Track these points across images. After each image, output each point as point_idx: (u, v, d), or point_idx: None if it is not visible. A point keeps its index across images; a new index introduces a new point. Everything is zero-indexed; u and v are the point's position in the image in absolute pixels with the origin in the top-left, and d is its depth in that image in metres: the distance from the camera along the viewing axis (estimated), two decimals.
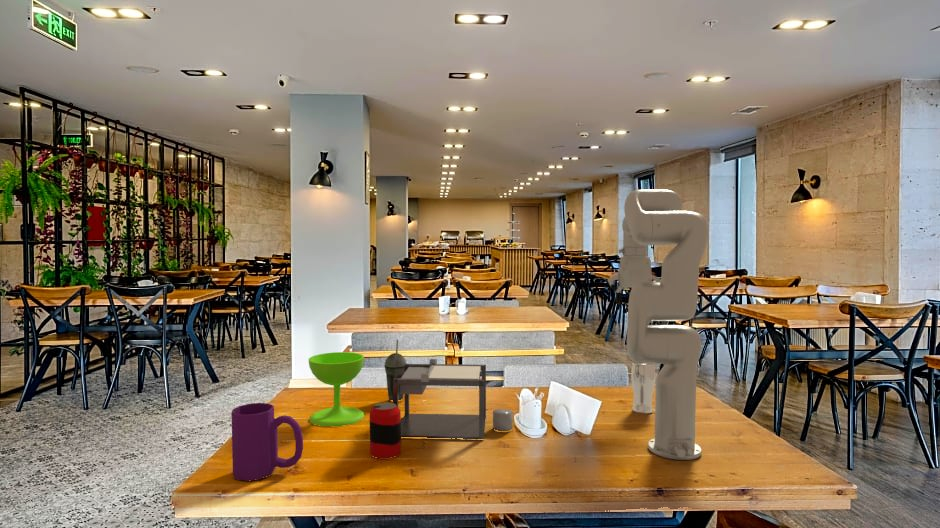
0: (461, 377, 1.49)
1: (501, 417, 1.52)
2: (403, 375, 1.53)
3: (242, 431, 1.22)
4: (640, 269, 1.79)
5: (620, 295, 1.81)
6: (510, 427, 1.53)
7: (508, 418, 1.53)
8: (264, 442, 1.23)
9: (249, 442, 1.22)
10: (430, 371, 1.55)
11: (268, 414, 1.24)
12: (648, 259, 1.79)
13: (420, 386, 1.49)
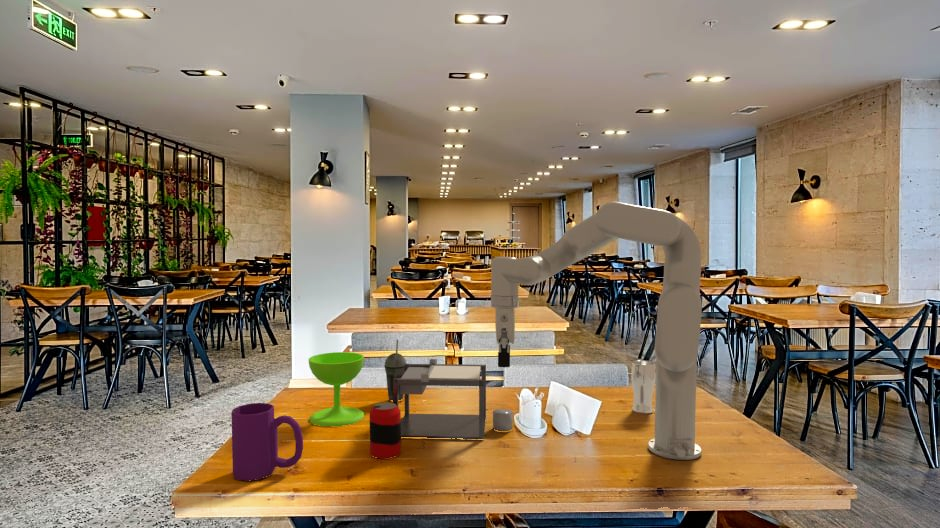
0: (461, 377, 1.49)
1: (501, 417, 1.52)
2: (403, 375, 1.53)
3: (242, 431, 1.22)
4: None
5: (509, 355, 1.49)
6: (510, 427, 1.53)
7: (508, 418, 1.53)
8: (264, 442, 1.23)
9: (249, 442, 1.22)
10: (430, 371, 1.55)
11: (268, 414, 1.24)
12: None
13: (420, 386, 1.49)
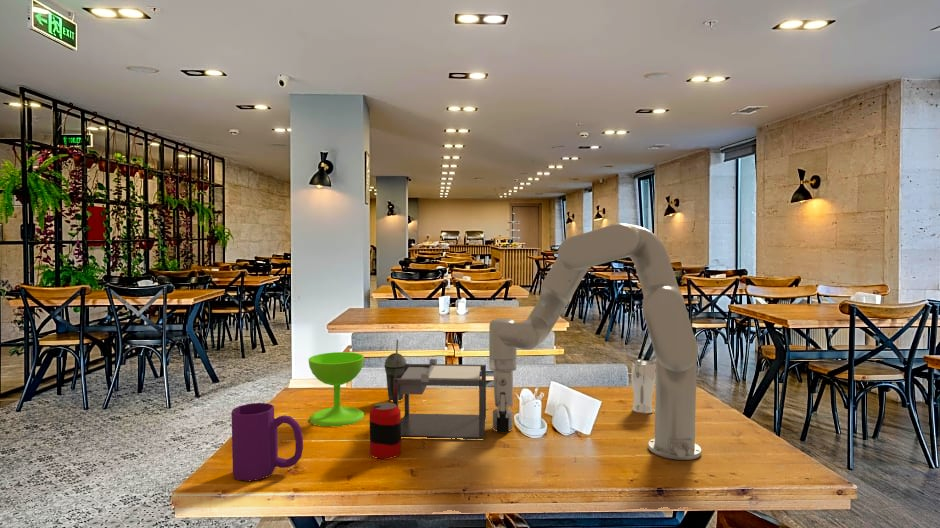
0: (461, 377, 1.49)
1: None
2: (403, 375, 1.53)
3: (242, 431, 1.22)
4: None
5: None
6: (510, 427, 1.53)
7: None
8: (264, 442, 1.23)
9: (249, 442, 1.22)
10: (430, 371, 1.55)
11: (268, 414, 1.24)
12: None
13: (420, 386, 1.49)
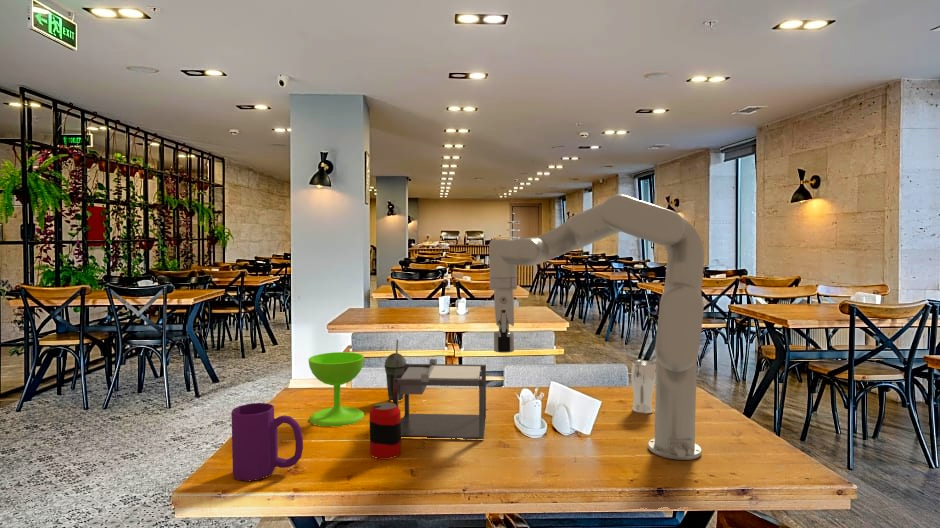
0: (461, 377, 1.49)
1: None
2: (403, 375, 1.53)
3: (242, 431, 1.22)
4: None
5: (509, 339, 1.51)
6: (511, 347, 1.52)
7: None
8: (264, 442, 1.23)
9: (249, 442, 1.22)
10: (430, 371, 1.55)
11: (268, 414, 1.24)
12: None
13: (420, 386, 1.49)
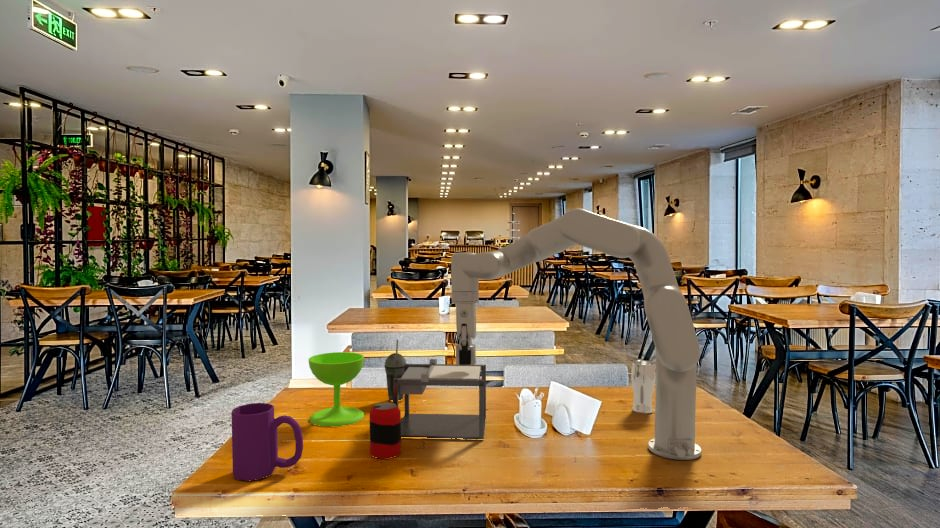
0: (461, 377, 1.49)
1: None
2: (403, 375, 1.53)
3: (242, 431, 1.22)
4: None
5: (470, 352, 1.51)
6: (473, 360, 1.53)
7: (471, 351, 1.52)
8: (264, 442, 1.23)
9: (249, 442, 1.22)
10: (430, 371, 1.55)
11: (268, 414, 1.24)
12: None
13: (420, 386, 1.49)
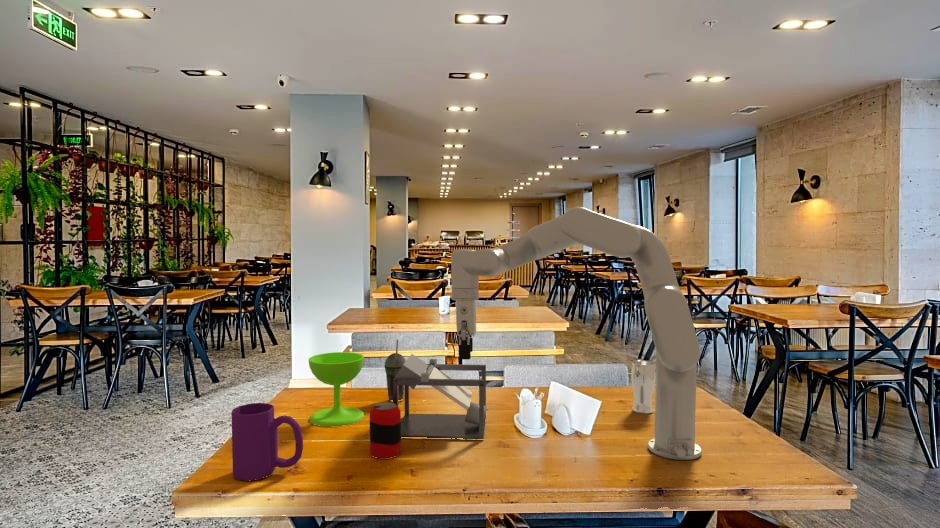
0: (455, 396, 1.49)
1: None
2: (406, 361, 1.53)
3: (242, 431, 1.22)
4: None
5: (470, 347, 1.50)
6: (469, 422, 1.54)
7: (478, 423, 1.53)
8: (264, 442, 1.23)
9: (249, 442, 1.22)
10: (430, 372, 1.55)
11: (268, 414, 1.24)
12: None
13: None
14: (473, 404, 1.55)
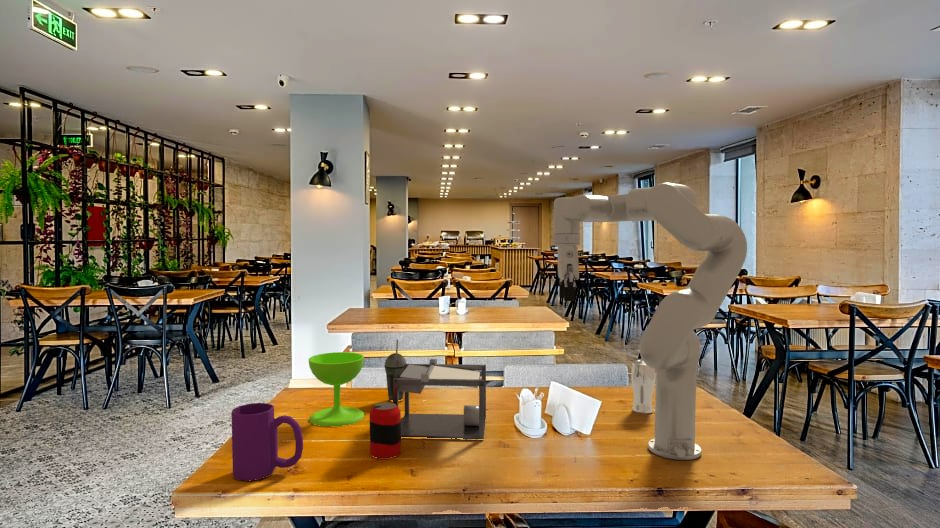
0: None
1: None
2: (403, 372, 1.53)
3: (242, 431, 1.22)
4: None
5: None
6: (468, 425, 1.54)
7: (477, 424, 1.53)
8: (264, 442, 1.23)
9: (249, 442, 1.22)
10: (430, 371, 1.55)
11: (268, 414, 1.24)
12: None
13: (419, 385, 1.49)
14: (468, 406, 1.55)
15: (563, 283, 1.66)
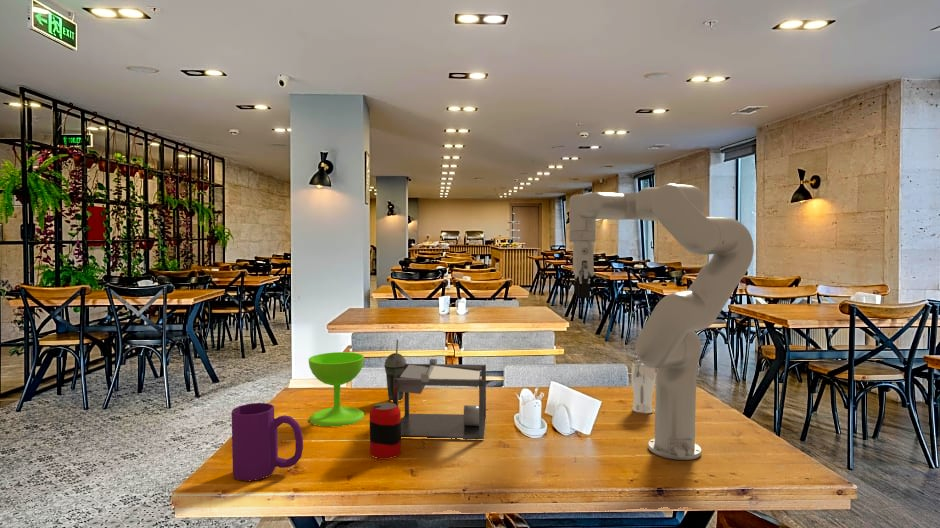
0: None
1: None
2: (403, 373, 1.53)
3: (242, 431, 1.22)
4: None
5: None
6: (468, 425, 1.54)
7: (477, 424, 1.53)
8: (264, 442, 1.23)
9: (249, 442, 1.22)
10: (430, 371, 1.55)
11: (268, 414, 1.24)
12: None
13: (419, 385, 1.49)
14: (468, 406, 1.55)
15: (578, 280, 1.67)
